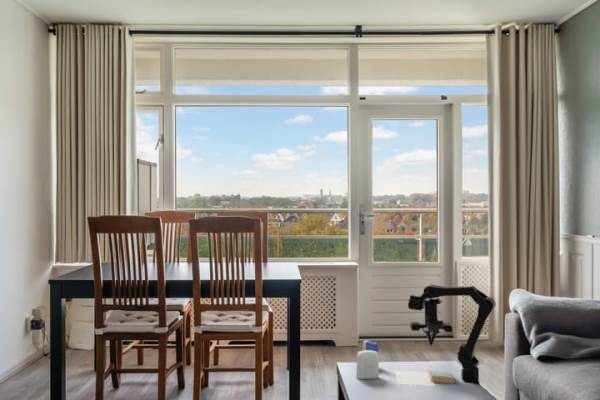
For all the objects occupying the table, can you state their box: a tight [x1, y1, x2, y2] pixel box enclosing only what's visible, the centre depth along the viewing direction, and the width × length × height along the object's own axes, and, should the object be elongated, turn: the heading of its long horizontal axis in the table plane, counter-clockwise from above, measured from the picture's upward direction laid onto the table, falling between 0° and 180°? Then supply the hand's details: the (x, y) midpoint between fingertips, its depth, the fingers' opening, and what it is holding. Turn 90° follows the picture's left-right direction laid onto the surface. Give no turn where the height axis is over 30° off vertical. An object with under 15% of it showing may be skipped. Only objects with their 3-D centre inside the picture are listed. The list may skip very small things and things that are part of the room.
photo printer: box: [356, 350, 380, 380], centre depth 203 cm, size 10×4×12 cm, turn 98°
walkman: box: [362, 340, 379, 353], centre depth 217 cm, size 8×3×12 cm, turn 40°
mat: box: [394, 370, 436, 387], centre depth 201 cm, size 16×16×1 cm
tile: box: [428, 369, 455, 384], centre depth 200 cm, size 3×7×10 cm
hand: (430, 345), depth 209 cm, fingers closed
